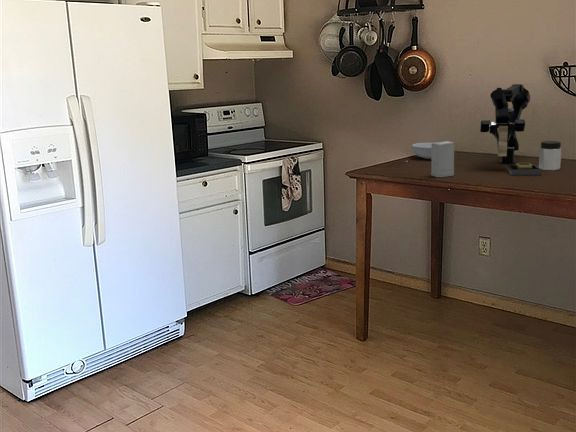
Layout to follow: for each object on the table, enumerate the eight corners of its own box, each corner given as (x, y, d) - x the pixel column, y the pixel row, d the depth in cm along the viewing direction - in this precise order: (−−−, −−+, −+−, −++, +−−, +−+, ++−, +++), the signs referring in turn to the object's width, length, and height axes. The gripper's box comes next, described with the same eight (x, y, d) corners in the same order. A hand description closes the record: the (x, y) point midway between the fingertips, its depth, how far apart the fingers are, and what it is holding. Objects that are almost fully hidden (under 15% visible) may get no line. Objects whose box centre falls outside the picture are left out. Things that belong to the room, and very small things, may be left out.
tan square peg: (497, 154, 286) (498, 125, 283) (505, 154, 285) (507, 125, 282) (498, 156, 283) (499, 127, 279) (506, 156, 282) (507, 126, 279)
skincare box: (446, 174, 284) (447, 140, 280) (454, 176, 278) (455, 142, 275) (430, 175, 281) (430, 142, 278) (438, 178, 276) (438, 143, 272)
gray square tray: (506, 170, 286) (507, 161, 285) (534, 170, 284) (535, 161, 283) (511, 175, 274) (512, 166, 273) (541, 175, 272) (541, 166, 271)
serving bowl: (457, 160, 318) (458, 146, 316) (415, 162, 318) (415, 148, 317) (448, 154, 338) (448, 141, 336) (408, 155, 338) (408, 142, 337)
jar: (551, 171, 281) (552, 144, 278) (535, 168, 288) (536, 142, 285) (563, 168, 286) (565, 141, 283) (547, 166, 292) (549, 140, 289)
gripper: (481, 102, 284) (481, 130, 276) (525, 101, 279) (527, 130, 272) (480, 117, 293) (480, 145, 286) (523, 116, 289) (524, 145, 282)
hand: (502, 141), depth 281 cm, fingers closed on tan square peg, 3 cm apart
